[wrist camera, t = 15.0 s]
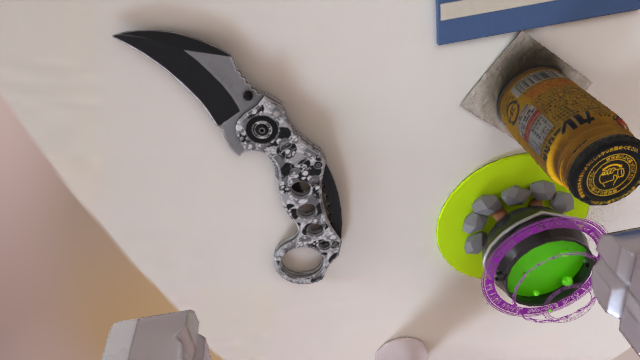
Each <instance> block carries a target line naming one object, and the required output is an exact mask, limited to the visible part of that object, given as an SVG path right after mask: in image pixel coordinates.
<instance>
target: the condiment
mask: <svg viewBox="0 0 640 360" xmlns="http://www.w3.org/2000/svg"><path fill="white" fill-rule="evenodd" d="M591 83H592V82H591V81H590V80H588V79H587V78H586V77H584V76H583V75H582V74H580V73H579V72H578V71H576V70H575V69H574V68H572V67H571V66H569V65H568V64H567V63H565V62H564V61H563V60H561V59H560V58H559V57H557V56H556V55H555V54H553V53H552V52H550V51H549V50H548V49H546V48H545V47H544V46H542V45H541V44H540V43H538V42H537V41H536V40H534V39H533V38H531V37H530V36H529V35H527V34H526V33H525V32H523V31H521V32H520V34H519V35H518V36H517V37H516V38H515V40H513V41H512V42H511V44H510V45H509V46H508V47H507V48H506V49H505V51H504V52H503V53H502V55H501V56H500V57H499V58H498V59H497V60H496V61H495V62H494V64H493V65H492V66H491V67H490V69H489V70H488V71H487V72H486V73H485V74H484V75H483V77H482V78H481V80H480V81H479V83H478V84H477V85H476V86H475V87H474V88H473V89H472V91H471V92H470V93H469V95H468V96H467V97H466V99H465V100H464V101H463V102H462V103H461V106H462V107H464V108H465V109H467V110H468V111H470V112H472V113H473V114H475V115H476V116H478V117H480V118H482V119H483V120H485V121H486V122H488V123H490V124H491V125H493V126H494V127H496V128H498V129H499V130H501V131H503V132H504V133H506V134H507V135H509V136H511V137H512V138H514V139H515V140H516V141H517V142H518V143H519V144H520V145H521V146H522V147H523V148H524V149H525V150H526V151H527V152H528V153H529V154H530V156H531V157H532V158H533V159H534V160H535V162H536V164H538V165H539V166H540V167H541V169H543V171H544V172H545V173H546V174H547V175H548V176H549V177H550V178H551V180H553V181H554V182H556V183H557V184H559V185H561V186H564V187H565V188H566V189H568V190H569V191H570V193H572V195H573V196H574V197H575V198H577V199H579V200H580V201H582V202H584V203H586V204H589V205H608V204H610V203H613V202H616V201H618V200H620V199H622V198H624V197H626V196H627V195H629V194H630V193H631V192H632V191H633V190H635V189H636V188H637V187H638V186H639V185H640V140H639V139H637V138H635V137H634V135H633V134H632V133H631V132H630V131H629V129H628V126H627V125H626V123H625V122H624V121H623V120H622V119H621V118H620V117H619V116H618V115H617V114H615V113H614V112H613V111H611V110H610V109H609V108H608V107H606V106H605V105H603V104H602V103H601V102H599V101H598V100H597V99H596V98H594V97H593V96H591V95H590V94H589V93H587V92H586V91H585V90H586V89H587V88H588V87H589V86H590V85H591Z"/></svg>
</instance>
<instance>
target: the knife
mask: <svg viewBox="0 0 640 360" xmlns="http://www.w3.org/2000/svg"><path fill="white" fill-rule="evenodd" d="M112 37H114V38H116V39H118V40H119V41H121V42H123V43H125V44H127V45H128V46H130V47H132V48H134V49H135V50H137V51H139V52H141V53H142V54H144V55H145V56H147V57H148V58H150V59H151V60H152V61H154V62H155V63H157V64H158V65H160V66H161V67H162V68H164V69H165V70H167V71H168V72H169V73H170V74H171V75H172V76H173V77H174V78H175V79H176V80H177V81H179V82H180V83H181V84H182V85H183V86H184V87H185V88H186V89H187V90H188V91H189V92H190V93H191V94H192V95H194V96H195V97H196V98H197V99H198V100H199V101H200V102H201V104H202V105H203V107H204V108H205V109H206V111H207V112H208V114H209V115H210V116H211V118H212V119H213V121H214V122H215V124H216V125H217V126H219V127H221V128H222V129H223V130H224V137H225V139H226V141H227V142H228V144H229V146H230V148H231V149H232V150H233V151H234V153H235V154H237V155H239V156H240V155H241V154H242V153H243V152H244V151H245V150H246V151H250V150H254V151H261V152H264V153H266V154H267V155H268V156H270V159H272V162H273V163H274V166H275V169H276V170H275V172H276V174H275V175H276V177H277V178H278V180H279V193H280V198H281V201H282V204H283V206H284V208H285V210H286V211H287V213H288V214H289V216H290V217H291V218H292V219H293V221H294V222H295V223H296V225H297V227H298V231H297V233H296V234H295V235H294V236H292V237H290V238H288V239H286V240H284V241H283V242H281V243H280V244H279V245H278V246H277V248H276V249H275V252H274V266H275V268H276V271H277V272H278V273H279V274H280V276H281V277H283V278H284V279H286V280H288V281H290V282H292V283H298V284H310V283H314V282H318V281H320V280H322V279H323V277H324V274H325V272H326V269H327V268H328V266H329V264H330V263H331V262H332V261H333V260H334V259H335V258H336V257H337V256H338V255H339V251H340V247H341V243H342V240H341V231H342V217H341V207H340V201H339V196H338V192H337V189H336V185H335V182H334V179H333V177H332V174H331V172H330V170H329V168H328V167H327V165H326V161H325V156H324V154H323V152H322V151H321V149H320V148H319V147H317V146H316V145H314V144H312V143H311V142H310V141H308V140H306V138H305V137H303V136H302V135H300V133H299V132H298V131H297V130H296V128H295V127H294V126H293V125H292V124H291V122H290V120H289V118H288V116H287V114H286V112H285V108H284V105H283V103H282V102H281V101H279V100H277V99H275V98H274V97H272V96H270V95H269V94H267V93H264V94H262V93H257V90H256V89H254V88H252V87H251V84H250V83H247V82H246V79H245V78H244V77H242V76H241V72H240V71H238V70H236V66H235V63H234V61H233V59H232V57H231V55H230V54H229V53H227V52H225V51H223V50H221V49H219V48H217V47H215V46H213V45H211V44H209V43H206V42H204V41H201V40H199V39H196V38H193V37H190V36H186V35H183V34H179V33H174V32H169V31H159V30H135V31H128V32H122V33H118V34H115V35H112ZM300 181H303V182H307V183H309V185H310V188H309V190H307V191H305V192H303V190H302V188H301V186H300V184H299V182H300ZM322 184H324V185H325V186H324V187H323V188H322ZM322 191H323V193H325V194H328V195H327V196H326V201H327V202H330V204H329V205H328V206H327V209H328V211H329V212H331V213H330V214H329V215H327V213H326V210H325V207H324V204H323V200H322ZM303 204H312V205H314V206H315V209H314V210H312V211H311V212H302V211H300V210H299V209H298V208H299V207H300V206H301V205H303ZM330 220H331V221H332V222H331V221H330ZM312 224H320V225H322V227H321V228H320V229H317V230H312V229H310V228H308V227H309V226H311V225H312ZM322 241H328V242H326V243H321V242H322ZM298 247H309V248H313V249H315V250H317V251H318V252H320V254H321V255H322V257H323V261H322V263H321V264H320V265H319V267H317V268H316V269H314V270H312V271H308V272H294V271H291V270H289V269H287V268H286V267H285V266H284V265H283V263H282V261H281V260H282V257H283V255H284V254H285V253H286V252H288V251H289V250H291V249H293V248H298Z"/></svg>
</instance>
